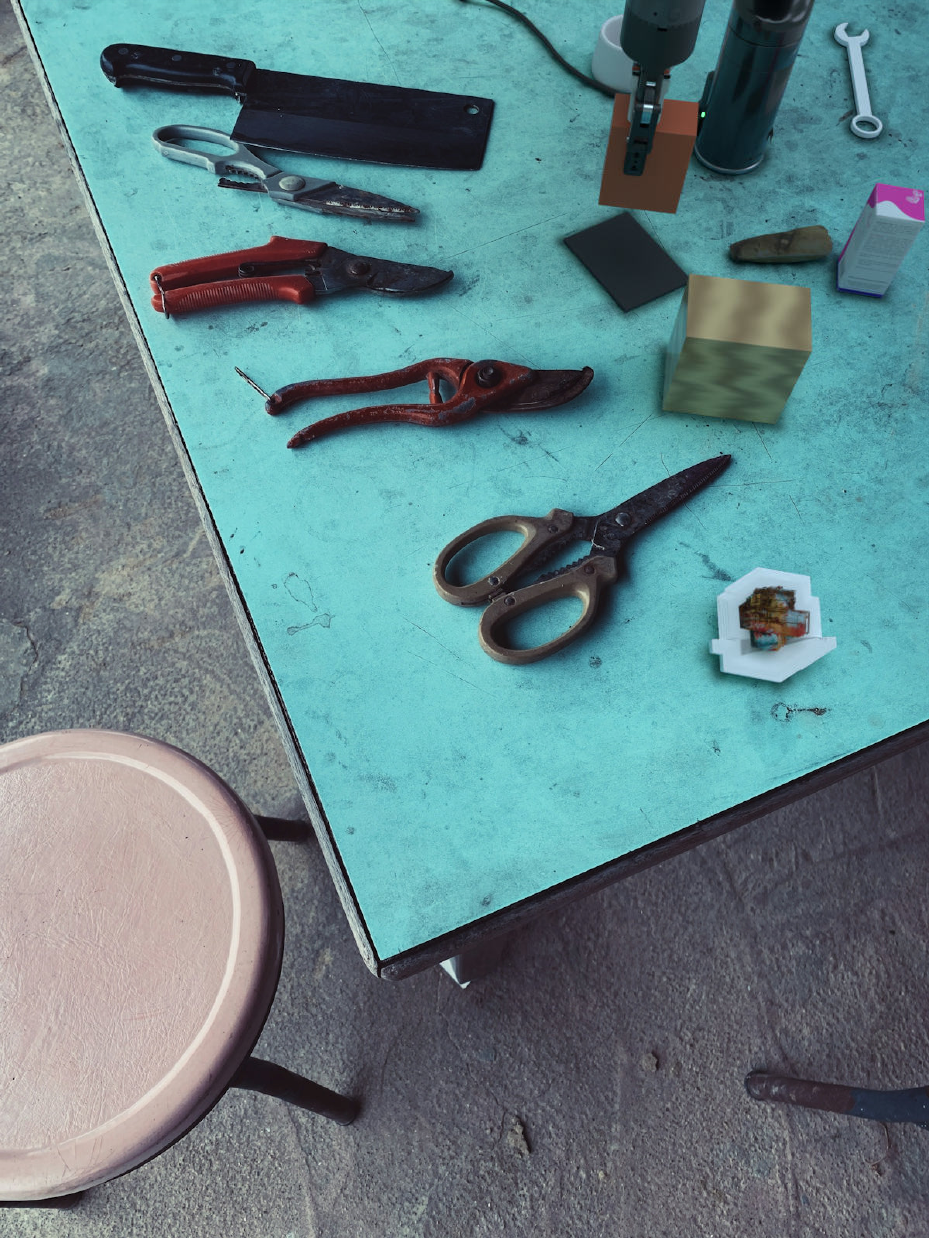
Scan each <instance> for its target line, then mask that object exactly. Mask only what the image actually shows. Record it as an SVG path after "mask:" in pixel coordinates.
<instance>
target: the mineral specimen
mask: <svg viewBox="0 0 929 1238" xmlns="http://www.w3.org/2000/svg"><path fill="white" fill-rule="evenodd" d="M811 584H812V583H811V576H810V575H805V574H799V573H793V572H789V571H788V572H787V571H784V570H783V571H782V570H777V569H772V568H771V569H770V568H766V567H760V566H757V567H755V568H753V569H752V570H750V571H749V572H748V573H746V574H744V575H743V576H741V577H740V578H738V579H737V580H735V581H734V582H733V583H731V584H728V586H726V587H724V588H723V592H721V593H719V594H718V595H717V596H716V605H717V606H716V607H717V608H716V609H717V626H718V638H711V639H708V646H709V647H708V648H709V654H712V655H715V656H716V655H717V656H718V657H719V670H720V673H725V674H729V675H731V674H732V675H736V676H741V677H746V678H751V679H756V680H763V681H767V682H772V683H782V682H784V681H785V680H787V679H788V678H789V677H791V676H794V674H796V673H797V672H798V671H802V670H804V669H806V668H807V667H808V666H810V665H811V664H814V663H815V662H817V660H820V659H821V658H823V657H824V656H825V655H827V654H828V653H830V652H831V651H833V650H835V649H836V648H837V647H838V644H837V636H834V635H833V636H823V632H822V618H821V616H822V615H821V603H820V597H819V596H814V595H812V585H811Z"/></svg>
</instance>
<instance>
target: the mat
mask: <svg viewBox="0 0 929 1238" xmlns="http://www.w3.org/2000/svg"><path fill="white" fill-rule="evenodd" d="M562 242H563V243H564V245H565V246H566V247H567V248H568V249H569V250H570V251H571V253H572V254H573V255H574V257H576V259H578V261H580V263H582V265H583V266H584V267H585V269H586V270H587V271H588V272H589V273H590V275H592V277H593V278H594V279H595V280H596V281H597V282H598V283H599V285H600V286H601V287H602V288H603V289H604V290H605V292H607V294H608V295H609V296H610V297H611V298H612V299H613V300H614V302H615V303H616V304H617V305H618V306H619V307H620V309H621V310H622V311H623V312H624V313H626V314H627V313H629V312H630V311H633V310H635V309H637V308H639V307H642V306H644V305H646V304H648V303H651V302H652V301H655V300H657V299H659V298H661V297H663V296H665V295H668V294H670V293H672V292H674V291H676V290H679V289H681V288H683V287H686V284H687V280H688V277H689V275H688V274H687V273H686V272H685V271H684V270H683V269H682V268H681V267H680V266H679V265H678V263H676V262H675V260H674V259H672V258H671V255H669V254H668V253H667V251H665V250H664V249H663V248H662V247H661V246H660V244H659V243H658V242H657V241H656V240H655V239H654V238H653V237H652V236H651V235H650V234H649V233H648V231H646V230H645V229H644V227H643V226H642V225H641V224H640V223H639V222H638V221H637V220H636V219H635V218H634V217H633V216H632V215H631V214H630V212H628V211H625V212H623V213H621V214H618V215H615V216H613V217H611V218H608V219H606V220H604V221H601V222H599V223H597V224H595V225H592V226H589V227H588V228H586V229H583V230H581V231H578V232H576V233H574V234H571V235H569V236H565V238H563V239H562Z"/></svg>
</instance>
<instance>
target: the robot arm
mask: <svg viewBox="0 0 929 1238" xmlns="http://www.w3.org/2000/svg"><path fill="white" fill-rule="evenodd" d="M458 1H459V2H466V0H458ZM485 1H486V2H488V3H491V4H492V5H495V6H497V7H499V8H501V9H503V10H504V11H506V12H508V13H510V14H512V15H513V16H515V17H516V18H518V19H519V20H520V21H522V22H523V23H524V25H526V27H527V28H528V29H530V31H531V32H532V33H533V34H534V35H535V36H536V37H537V38H538V39H539V40H540V41H541V42H542V43H543V45H544V46H545V47H546V48H547V50H548V51H549V53H550V54H551V55H552V56H553V58H554V59H555V61H557V63H558V64H559V65H560V66H562V67H563V68H564V69H565V70H567V72H569V73H571V75H573V76H574V77H576V78H577V79H579V80H580V81H581V82H584V83H585V84H586V85H589V86H591V87H593V88H595V89H597V90H599V91H600V92H603V93H605V94H607V95H610V96H611V97H613V98H615V95H616V93H619V94H623V93H620V92H617V91H615V90H613V89H611V88H609V87H607V86H604V85H602V84H600V83H598V81H597V80H594V79H592V78H591V77H589V76H587V75H586V74H583V73H582V72H581V71H580V70H578V69H576V68H575V67H574V66H573V65H571V64H570V63H569V62H567V61H566V60H565V59H564V58H563V57H562V56H561V55H560V54H559V53H558V51H557V49H556V48H555V47H554V46H553V44H552V43H551V42H550V41H549V39H548V38H547V37H546V35H545V34H543V33H542V32H541V30H540V29H539V28H538V27H537V26H536V25H535V24H534V23H533V22H532V21H531V20H530V19H529V18H528V17H527V16H526V15H525V14H523V13H522V11H521V12H520V11H519V10H518V9H516V8H515V7H513V6H511V5H509V4H507V3H505V2H503V1H501V0H485ZM706 2H707V0H625V2H624V3H625V4H624V8H623V9H624V10H623V14H624V15H623V21H622V27H621V33H620V45H621V48H622V50H623V52H624V53H625V54H626V55H627V56H628V57H629V58H630V59H631V60H633V65H632V75H631V81H630V89H631V93H630V95H631V96H630V102H629V108H628V114H627V118H628V121H629V122H630V123H631V124H630V130H629V136H627V140H626V142H627V145H626V148H627V151H626V156H625V161H624V167H623V173H624V174H625V175H632V176H641V175H642V174H643V171H644V166H645V161H646V157H647V154H650V152H651V150H652V148H653V145H652V143H653V139H654V135H655V130H656V126H657V124H658V123H659V122H660V118H661V113H662V107H663V102H664V99H665V96H666V95H667V94H668V92H669V88H670V83H671V77H672V74H671V71H672V70H671V67H673V66H675V67H677V66H678V65H681V64H683V63H684V62H686V61H687V60H688V59H689V58H690V57H691V56H692V55H693V52H694V50H695V48H696V43H697V40H698V36H699V31H700V28H701V22H702V19H703V14H704V10H705V5H706ZM815 3H816V0H732V3H731V6H730V11H729V14H728V19H727V22H726V26H725V30H724V33H723V38H722V42H721V45H720V49H719V53H718V56H717V62H716V64H715V68H714V70H711V71H709V72H708V74H707V75H706V79H705V84H704V87H703V91H702V95H701V98H700V99H699V100H697V102H698V103H699V104H698V119H697V135H696V139H695V143H694V147H693V151H694V155H695V156H696V158H697V160H698V161H699V162H700V163H701V164H702V165H703V166H705V167H706V168H708V169H709V170H712V171H714V172H716V173H721V174H724V175H742V174H747V173H749V172H751V171H753V170H755V169H756V168H758V167H759V166H760V164H761V163H762V162H763V159H764V156H765V152H766V148H767V145H768V142H769V143H772V140H773V137H774V125H775V122H776V119H777V116H778V113H779V110H780V107H781V105H782V102H783V98H784V95H785V92H786V88H787V86H788V84H789V81H790V78H791V74H792V73H793V72H792V71H793V68H794V66H795V63H796V60H797V58H798V54H799V51H800V48H801V45H802V43H803V39H804V36H805V34H806V33H805V32H806V30H807V27H808V26H809V25H808V24H809V22H810V19H811V16H812V12H813V10H814V7H815ZM670 70H671V71H670ZM635 98H636V105H634V104H635ZM657 101H658V104H657Z"/></svg>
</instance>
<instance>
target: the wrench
mask: <svg viewBox="0 0 929 1238" xmlns="http://www.w3.org/2000/svg"><path fill="white" fill-rule="evenodd" d="M848 25H849V22H842V23H840V24H838V25H837V26H836V29H835V31H834V33H833V34H834V35H833V38H834V39H835V41H836V42H837V43H839V44H840V45H841V46H843V47H846V50H847V56H848V63H849V64H848V65H849V69H850V76H851V82H852V88H853V95H854V101H855V109H856V115H855V116H854V117H853V118H852V121H851V123H850V130H851V131H852V133H853V134H855V135H856V136H858V137H860V138H865V139H872V138H877V136H879V135H880V133H881V131H882V129H883V123H882V121H881V120H880V119H879V118H878V117H877V116H875V115H873V114H872V109H871V108H872V107H871V102H870V96H869V90H868V83H867V77H866V71H865V66H864V60H863V54H862V49H861V48H862V47H864V46H865V45H866V44H867V42H868V41H869V38H870V31H868V29H867V28H865V30H864V31H863V32H862V33H861V35H855V36H848V34H847V32H846V31H845V30H846V29H847V27H848ZM860 121H862V122H863V121H865V122H869V123H872V124H873V125H874V126H875V127H876V129H875V130H874V131H867V130H863V129H861V128H860V127H858V126H857V124H856V123H858V122H860Z"/></svg>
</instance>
